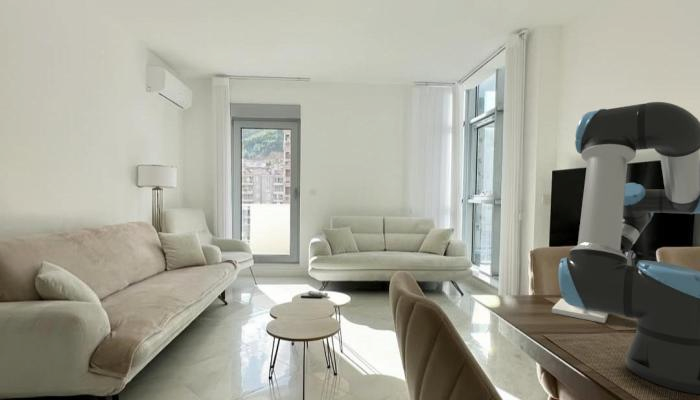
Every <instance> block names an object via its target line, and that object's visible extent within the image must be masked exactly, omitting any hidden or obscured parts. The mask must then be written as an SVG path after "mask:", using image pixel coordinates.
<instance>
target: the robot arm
mask: <svg viewBox="0 0 700 400" xmlns="http://www.w3.org/2000/svg"><path fill="white" fill-rule="evenodd" d="M574 136H575V141H574V143H575V149H576V152H577V153H578V154H579V155H580V156H581V158H582V160H584V161H585V162H586V170H585V179H584V189H583V196H582V203H581V204H582V205H581V213H580V221H579V222H580V224H579V230H578V239H577V240H578V241H577V245H576V246H574V247H572V248H571V249H570V250H569V255H568V257H564V258H563V257H562V258H561V259H560V261H559V264H558V285H559V291H560V293H561V298H562V299H564V300H565V302H566V303H568V304H569V305H571V306H575V307H579V308H583V309H585V310H593V311H598V312H603V313H608V315H614V316H618V317H622V318H629V319H634V320H636V332H635V334H634V337H633V338H632V341H631V342H630V345H629V347H628V349H627V351H626V354H625V355H626V356H625V365H626V366H625V367H627V368H628V370H630V371H631V372H632V373H633V374H635V375H636V376H638V377H640V378H642V379H644V380H645V381H648V382H651V383H653V384H656V385H659V386H662V387H665V388H668V389H671V390H674V391H675V390H676V391H679V392H683V393H689V394H694V395H700V271H699V270H695V269H693V268H690V267H686V266H681V265H678V264H674V263H668V262H664V261H658V260H655V261H653V260H646V259H643V260H642V259H641V260H638V261H637V263H635V262H636V258H637V255H636V253H635V251H634V250H631V249H632V248H633V247H634V246H633V245H634V244H635V243H636V242H637V241H638V239H639V237H640V236H641V234H642V232H643V231H644V229H645V228H646V227H647V225H648V224H649V223H650V222H651V221H652V218H653V216H654V213H657V214H658V213H662V214H663V213H664V214H665V213H666V214H686V215H693V214H695V215H696V214H700V120H699V119H698V118H697V117H696V116H695V115H694V114H692V112H690V111H689V110H687V109H685V108H684V107H682V106H679V105H676V104H675V103H671V102H670V103H669V102H665V101H651V102H646V103H639V104H632V105H631V104H630V105H626V106H619V107H612V108H600V109H598V110H593V111H588V112H585V114H583V115H582V116H581V117H580V119H579V120H578V123H577V127H576V130H575V135H574ZM651 149H652V150H655V152H656V153H657V154H659V158H660V165H661V171H662V177H663V185H664V189H660V188H659V189H646V188H645V187H644V186H643V185H642V184H640V183H639V184H638V183H636V182H627V172H628V163H629V162H631V161H633V160H634V159H635V157H636V155H637V151H641V150H651Z"/></svg>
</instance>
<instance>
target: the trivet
mask: <svg viewBox="0 0 700 400" xmlns="http://www.w3.org/2000/svg"><path fill="white" fill-rule="evenodd" d="M551 314H556V315H562V316H566V317H571V318H577V319H581V320H585V321H586V320H588V321H593V322H598V323H601V324H606V321H607V319H608V317H609V314H608V313H603V312H598V311H590V310H583V309H578V308H575V307H573V306H571V305H569V304H568V303H566V302H565V300H564V299H563V297H561V298H560V299H559V300H558V301H557V302H556V303H555V304H554V306H552V308H551Z"/></svg>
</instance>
